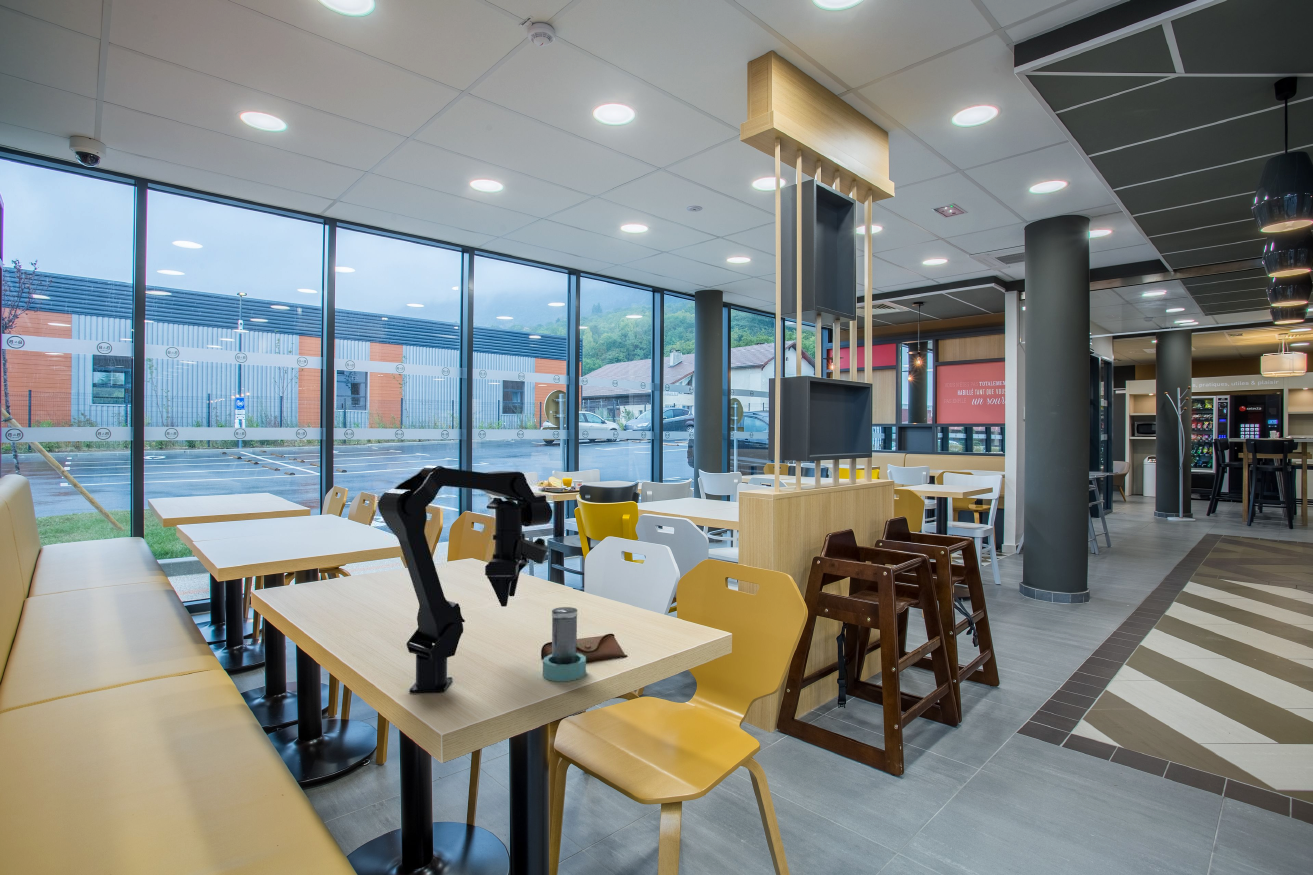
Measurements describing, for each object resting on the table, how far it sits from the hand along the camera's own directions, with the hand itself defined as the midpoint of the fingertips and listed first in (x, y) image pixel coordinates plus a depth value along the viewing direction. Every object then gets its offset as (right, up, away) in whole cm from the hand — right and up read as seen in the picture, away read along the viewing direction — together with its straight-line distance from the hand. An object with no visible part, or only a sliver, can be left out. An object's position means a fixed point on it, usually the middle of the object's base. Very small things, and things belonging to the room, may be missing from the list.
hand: (508, 601), depth 137 cm
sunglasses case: (+16, -14, +3) cm, 22 cm away
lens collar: (+13, -13, -8) cm, 20 cm away
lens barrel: (+13, -13, -8) cm, 20 cm away
